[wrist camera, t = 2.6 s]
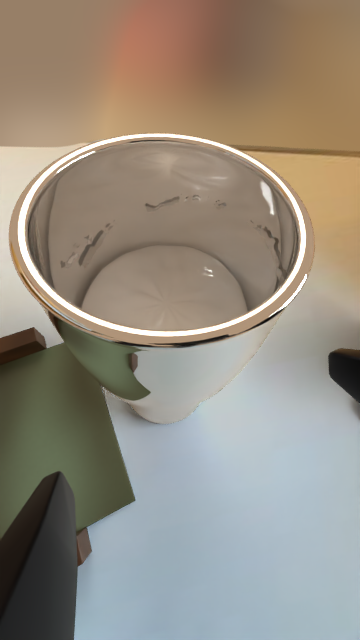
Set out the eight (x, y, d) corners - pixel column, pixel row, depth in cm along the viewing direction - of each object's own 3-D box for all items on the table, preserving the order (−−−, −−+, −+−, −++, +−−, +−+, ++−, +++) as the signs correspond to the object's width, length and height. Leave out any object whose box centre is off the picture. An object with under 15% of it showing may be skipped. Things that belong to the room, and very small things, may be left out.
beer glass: (106, 420, 17) (-92, 316, 4) (132, 332, 20) (73, 112, 7) (204, 440, 17) (352, 398, 4) (215, 347, 20) (311, 149, 7)
